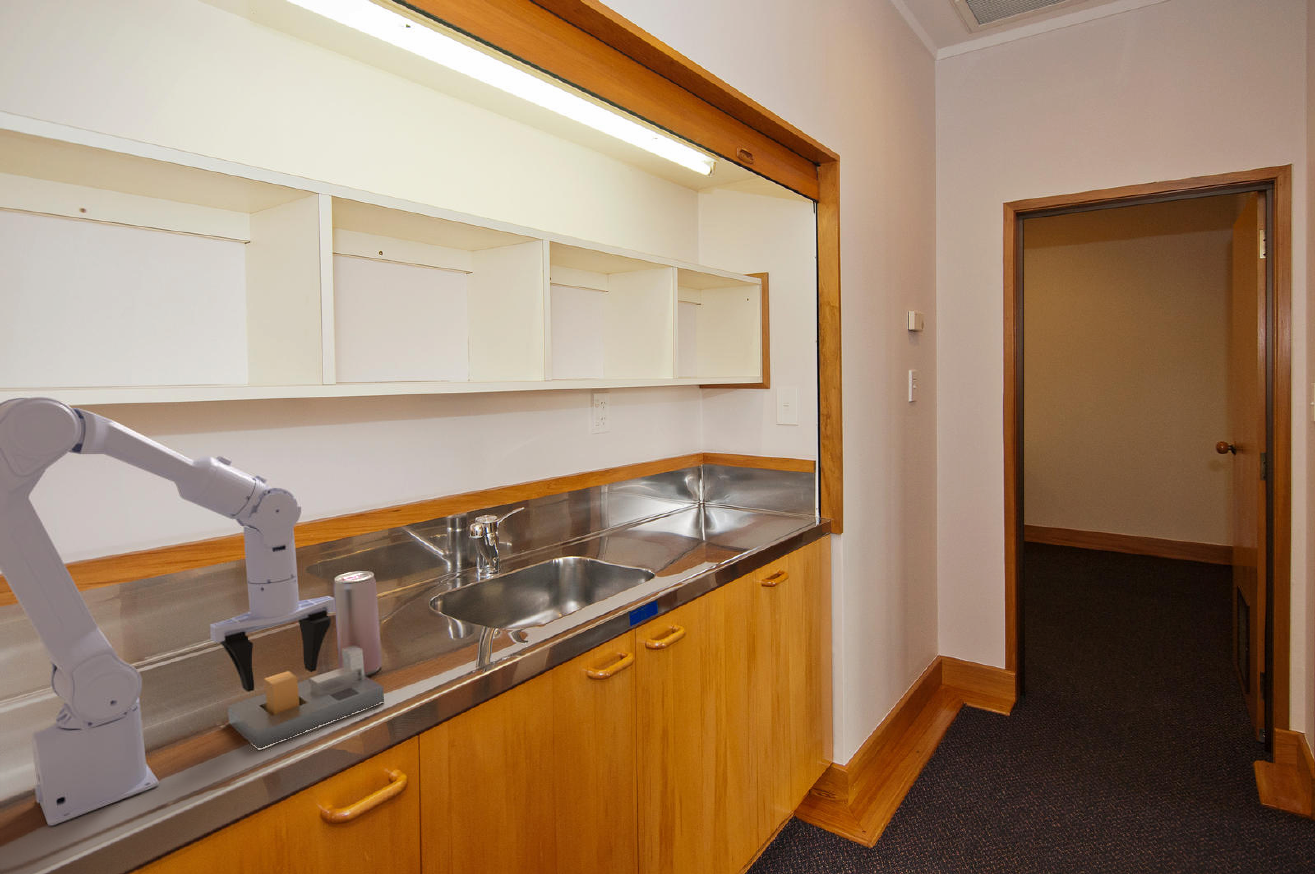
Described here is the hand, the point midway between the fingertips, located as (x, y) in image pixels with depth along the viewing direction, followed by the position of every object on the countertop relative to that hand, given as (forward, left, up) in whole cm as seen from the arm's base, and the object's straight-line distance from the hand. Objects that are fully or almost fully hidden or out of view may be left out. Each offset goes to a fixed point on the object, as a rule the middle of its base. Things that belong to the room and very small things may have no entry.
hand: (280, 679), depth 93 cm
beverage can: (+14, +8, -6) cm, 17 cm away
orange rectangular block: (0, 0, -6) cm, 6 cm away
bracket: (+7, 0, -4) cm, 8 cm away
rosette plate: (+3, 0, -6) cm, 7 cm away
